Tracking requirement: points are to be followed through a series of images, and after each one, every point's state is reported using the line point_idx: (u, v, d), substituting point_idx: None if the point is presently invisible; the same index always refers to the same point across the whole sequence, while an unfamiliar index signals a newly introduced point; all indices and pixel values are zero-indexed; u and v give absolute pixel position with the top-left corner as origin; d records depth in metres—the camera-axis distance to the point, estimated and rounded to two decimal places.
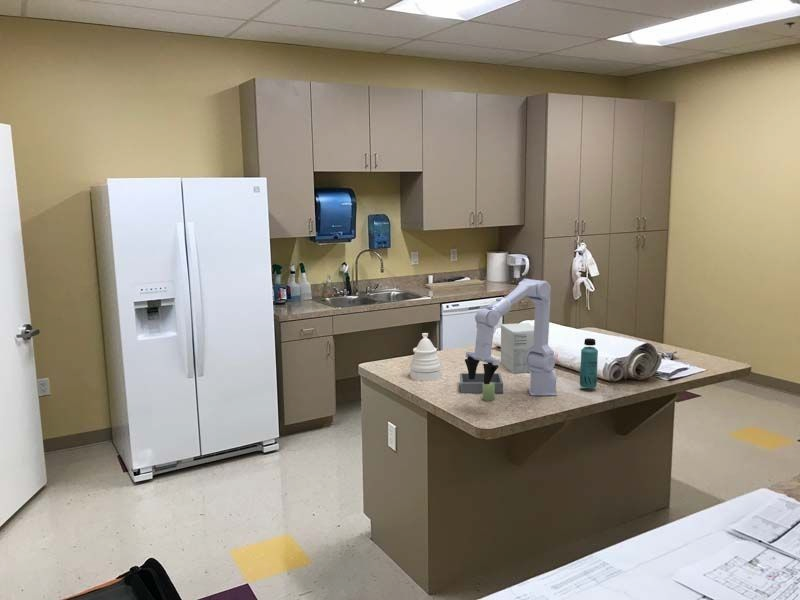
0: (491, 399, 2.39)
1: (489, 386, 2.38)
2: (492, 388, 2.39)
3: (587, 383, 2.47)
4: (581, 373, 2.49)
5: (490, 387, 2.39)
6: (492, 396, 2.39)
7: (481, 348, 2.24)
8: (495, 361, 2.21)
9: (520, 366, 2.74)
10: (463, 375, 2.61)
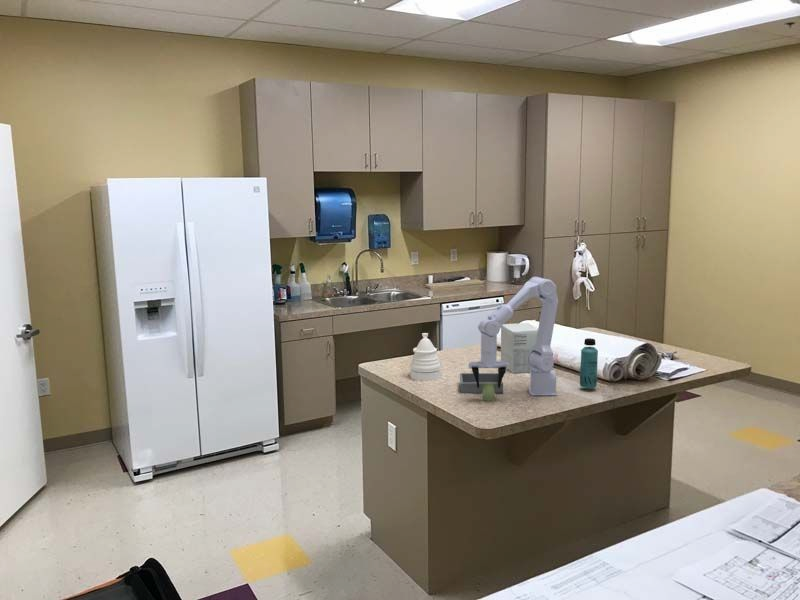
0: (491, 399, 2.39)
1: (489, 386, 2.38)
2: (492, 388, 2.39)
3: (587, 383, 2.47)
4: (581, 373, 2.49)
5: (490, 387, 2.39)
6: (492, 396, 2.39)
7: (493, 357, 2.36)
8: (508, 364, 2.38)
9: (520, 366, 2.74)
10: (463, 375, 2.61)
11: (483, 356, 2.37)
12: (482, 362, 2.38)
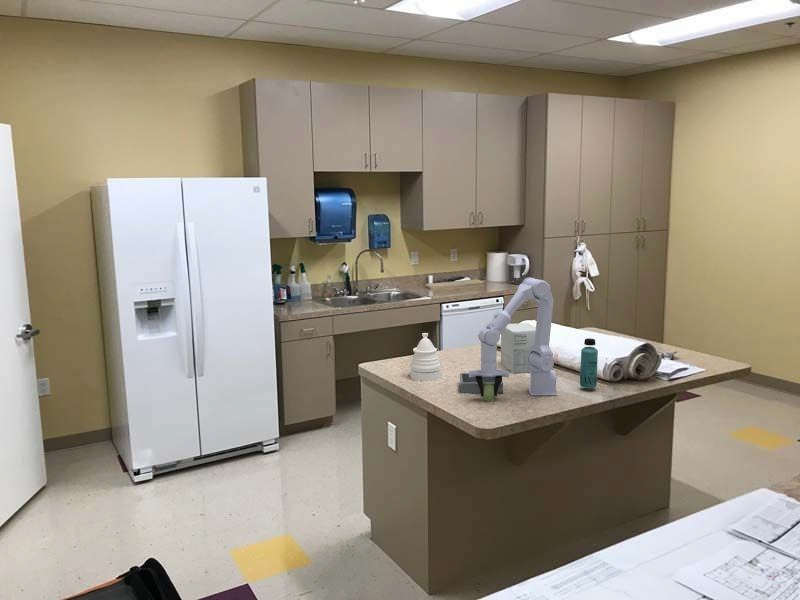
0: (491, 399, 2.39)
1: (489, 386, 2.38)
2: (492, 388, 2.39)
3: (587, 383, 2.47)
4: (581, 373, 2.49)
5: (490, 387, 2.39)
6: (492, 396, 2.39)
7: (493, 366, 2.37)
8: (508, 373, 2.39)
9: (520, 366, 2.74)
10: (463, 375, 2.61)
11: (483, 365, 2.37)
12: (482, 371, 2.38)
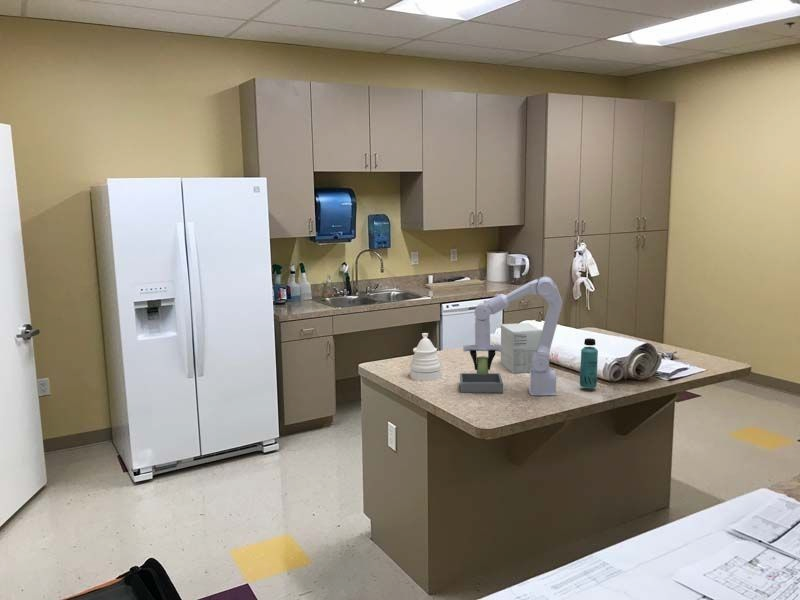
0: (485, 372, 2.49)
1: (483, 360, 2.48)
2: (486, 362, 2.49)
3: (587, 383, 2.47)
4: (581, 373, 2.49)
5: (484, 361, 2.48)
6: (486, 370, 2.49)
7: (487, 340, 2.47)
8: (501, 347, 2.49)
9: (520, 366, 2.74)
10: (463, 375, 2.61)
11: (477, 339, 2.47)
12: (476, 345, 2.48)
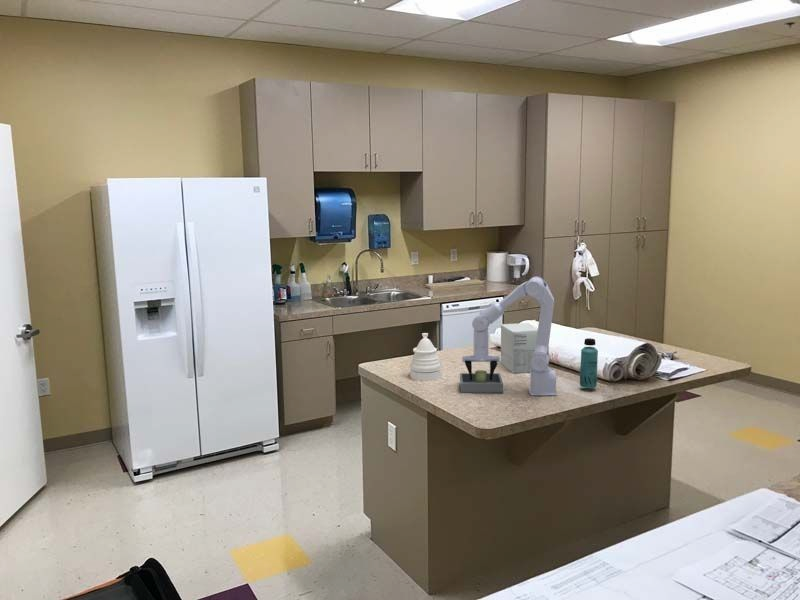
0: None
1: (481, 374, 2.52)
2: (484, 376, 2.53)
3: (587, 383, 2.47)
4: (581, 373, 2.49)
5: (482, 375, 2.52)
6: None
7: (485, 351, 2.50)
8: (499, 358, 2.52)
9: (520, 366, 2.74)
10: (463, 375, 2.61)
11: (475, 350, 2.51)
12: (475, 356, 2.52)
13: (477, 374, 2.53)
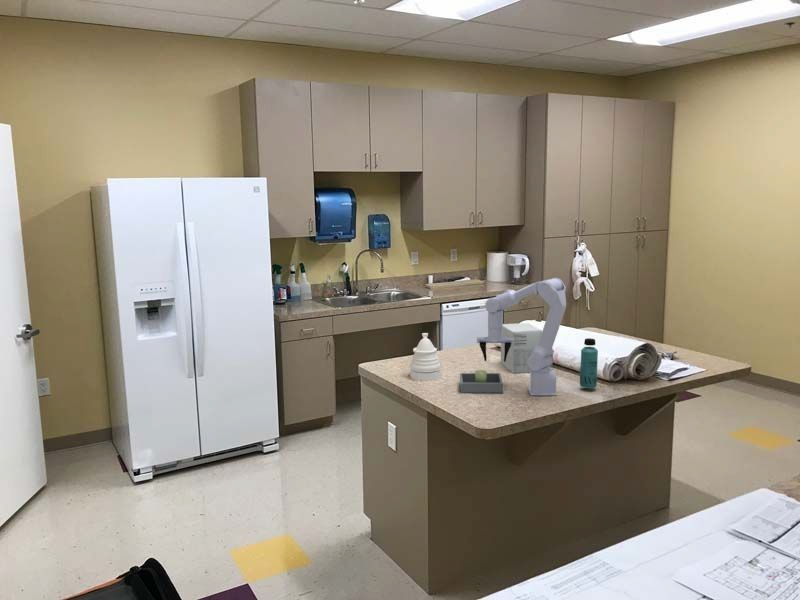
0: None
1: (481, 374, 2.52)
2: (484, 376, 2.53)
3: (587, 383, 2.47)
4: (581, 373, 2.49)
5: (482, 375, 2.52)
6: None
7: (499, 332, 2.55)
8: (513, 340, 2.56)
9: (520, 366, 2.74)
10: (463, 375, 2.61)
11: (489, 331, 2.56)
12: (489, 337, 2.57)
13: (477, 374, 2.53)
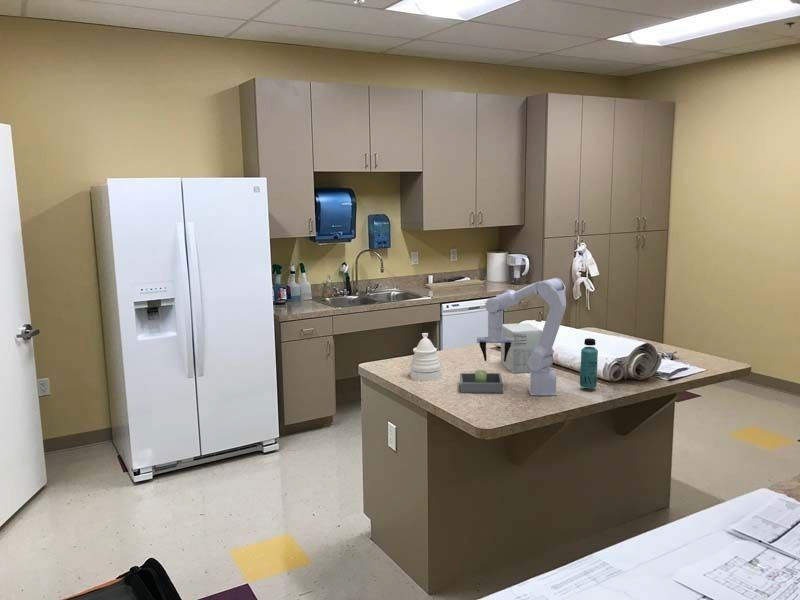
0: None
1: (481, 374, 2.52)
2: (484, 376, 2.53)
3: (587, 383, 2.47)
4: (581, 373, 2.49)
5: (482, 375, 2.52)
6: None
7: (499, 332, 2.55)
8: (513, 340, 2.56)
9: (520, 366, 2.74)
10: (463, 375, 2.61)
11: (489, 331, 2.56)
12: (489, 337, 2.57)
13: (477, 374, 2.53)
